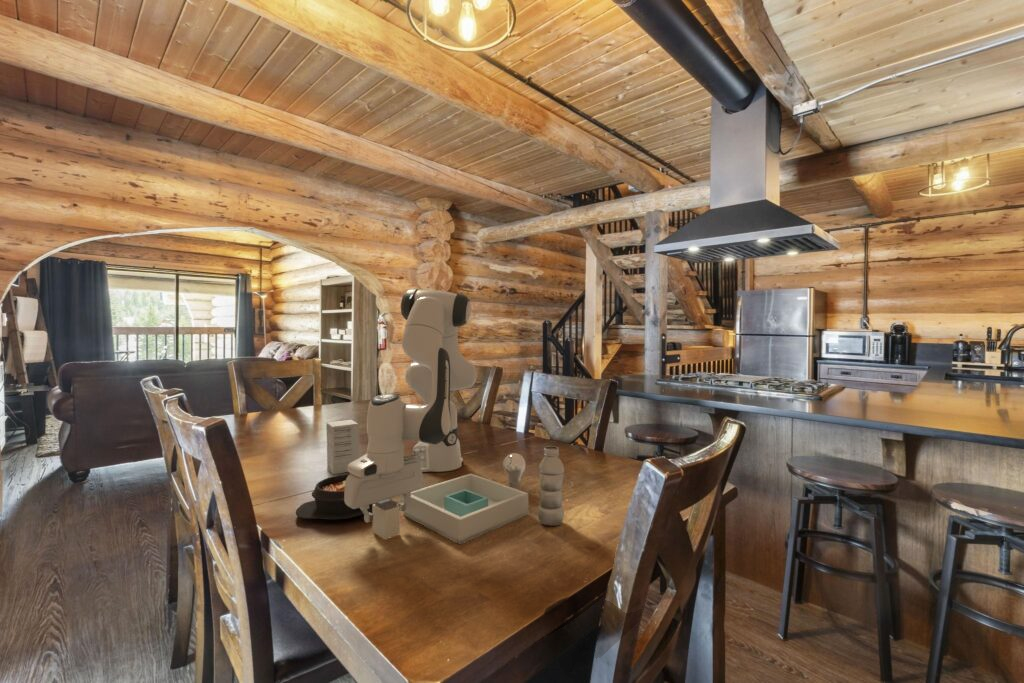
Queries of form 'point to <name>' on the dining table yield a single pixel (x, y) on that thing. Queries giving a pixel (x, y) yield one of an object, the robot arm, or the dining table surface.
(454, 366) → the robot arm
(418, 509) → the walled box
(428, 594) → the dining table surface
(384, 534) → the grey-topped white block
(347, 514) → the casserole
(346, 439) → the supplement box
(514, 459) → the light bulb
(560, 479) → the plastic bottle
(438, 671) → the dining table surface
